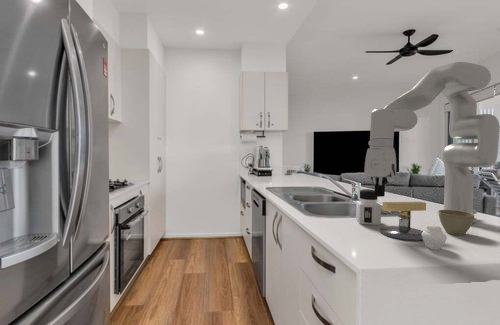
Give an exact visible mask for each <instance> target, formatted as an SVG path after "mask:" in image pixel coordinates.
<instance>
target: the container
mask: <svg viewBox="0 0 500 325" xmlns="http://www.w3.org/2000/svg"><path fill="white" fill-rule="evenodd" d="M374 191H375V189H370V188H364V189H360V190H359V200H357V201H355V203H356V210H355V211H356V212H355V213H356V214H355V219H356V221H357V222H358V223H359V224H360V225H373V226H374V225H375V226H381V224H382V221H381V220H382V216H381V215H382V205H381V204H380V203H378V198H379V197H378V196H374Z"/></svg>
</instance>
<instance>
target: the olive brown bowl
mask: <svg viewBox="0 0 500 325" xmlns="http://www.w3.org/2000/svg"><path fill="white" fill-rule="evenodd" d="M437 214H438V218H439V221H440V223H441V226H442V229H443V230H445V232H446V233H447V234H450V235H453V236H464V235H466V233H467V232H468V231H469V229H470V228H471V227H472V224H473V223H472V222H473V220H474V218H475V214H472V213H469V212H464V211H458V210H444V209H438V212H437Z"/></svg>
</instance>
